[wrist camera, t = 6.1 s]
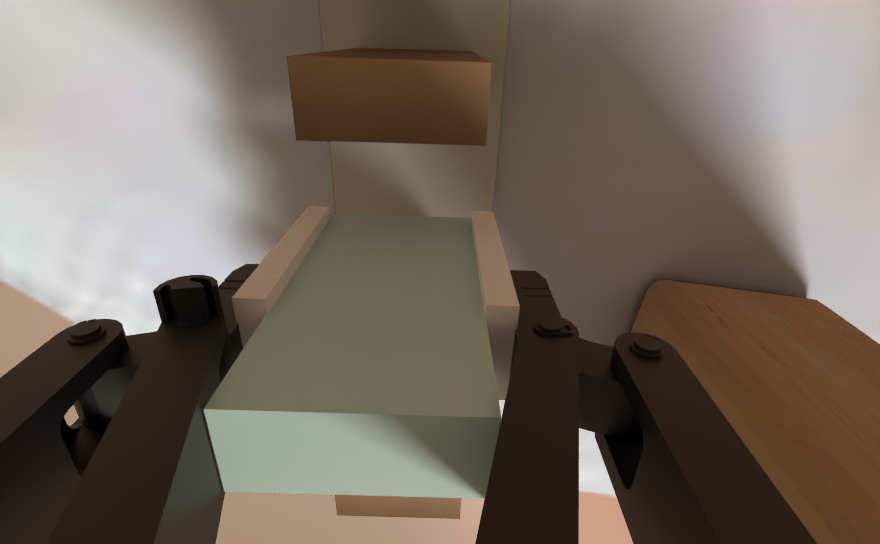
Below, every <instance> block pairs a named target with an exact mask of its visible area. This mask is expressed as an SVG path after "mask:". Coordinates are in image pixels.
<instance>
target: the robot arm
mask: <svg viewBox="0 0 880 544" xmlns="http://www.w3.org/2000/svg"><path fill="white" fill-rule="evenodd" d="M330 218H331V217H330V206H307V208H306V209H305V210H304V211H303V212H302V214H301V215H300V216H299V217H298V218H297V220H296V221H295V222H294V223H293V225H292V226H291V227H290V228H289V229H288V231H287V232H286V233H285V234H284V235H283V237H282V238H281V239H280V240H279V241H278V243H277V244H276V245H275V246H274V247H273V249H272V250H271V251H270V252H269V253H268V255H267V256H266V257H265V258H264V259H263V261H262V262H261V263H260V264H245V265H244V266H242V267H240V268H238V269H236V270H234V271H232V273H231V274H230V275H229V276H228V277H227V278H226V279H225V282H222V283H221V284H220V286H219V287H218V283H217V280H215V279H214V278H213V277H209V276H205V275H190V276H183V277H178V278H175V279H172V280H168V281H166V282H164V283H162V284H160V285H159V286H158V287H157V288H155V289H154V290H153V292H154V296H155V300H156V303H157V307H158V310H159V314H160V318H161V321H162V323H161V325H160V327H159V329H158V331H156V332H150V333H144V334H137V335H130V336H126V335H125V332H124V329H123V326H122V324H121V323H120V322H118V321H117V320H111V319H98V320H97V319H93V320H88V321H83V322H80V323H78V324H76V325H74V326H71V327H69V328H67V329H65V330H63V331H62V332H60V333H58V334H57V335H55V336H54V337H53V338H51V339H50V340H49V341H48V342H46V343H45V344H44V345H42V346H41V347H40V348H38V349H37V350H36V351H35V352H33V353H32V354H31V355H29V356H28V357H27V358H26V359H24V360H23V361H21V362H20V363H19V364H18V365H16V366H15V367H14V368H12V369H11V370H10V371H8V372H7V373H6V374H5V375H3V376H2V377H1V378H0V544H215V543H216V538H217V532H218V527H219V522H220V516H221V511H222V505H223V500H224V495H225V491H224V488H223V484H222V481H221V477H220V473H219V469H218V465H217V461H216V457H215V453H214V449H213V445H212V441H211V437H210V433H209V429H208V425H207V421H206V417H205V413H204V408H205V406H206V405H207V403H208V402H209V400H210V398H211V397H212V395H213V394H214V392H215V391H216V389H217V388H218V386H219V385H220V383H221V382H222V380H223V379H224V377H225V376H226V374H227V373H228V371H229V370H230V368H231V367H232V365H233V364H234V362H235V361H236V359H237V358H238V356H239V355H240V353H241V351H242V350H243V348H244V347H245V345H246V344H247V342H248V341H249V339H250V338H251V336H252V335H253V333H254V332H255V330H256V329H257V327H258V326H259V324H260V323H261V321H262V320H263V318H264V317H265V315H266V314H268V313H269V311H270V310H271V308H272V307H273V305H274V304H275V302H276V301H277V299H278V298H279V296H280V295H281V293H282V291H283V290H284V288H285V287H286V285H287V284H288V282H289V281H290V279H291V278H292V276H293V275H294V273H295V272H296V270H297V269H298V267H299V265H300V264H301V262H302V261H303V259H304V258H305V256H306V255H307V253H308V252H309V250H310V249H311V247H312V246H313V244H314V242H315V241H316V239H317V238H318V236H319V235H320V233H321V232H322V230H323V229H324V227H325V226H326V224H327V223H328V221H329V219H330ZM471 226H472V233H473V240H474V247H475V254H476V261H477V268H478V275H479V282H480V289H481V296H482V303H483V311H484V318H485V321H487V327H488V333H489V340H490V347H491V353H492V360H493V367H494V373H495V380H496V387H497V394H498V400H505V404H504V409H503V414H502V419H501V424H500V428H499V433H498V438H497V443H496V448H495V452H494V457H493V462H492V467H491V472H490V476H489V481H488V486H487V491H486V496H485V500H484V506H483V510H482V515H481V520H480V525H479V529H478V534H477V539H476V544H578V508H579V503H578V502H579V501H578V500H579V498H578V496H579V428H581V429H585V430H588V431H592V432H595V438H596V441H597V444H598V447H599V449H600V452H601V455H602V458H603V460H604V463H605V466H606V469H607V471H608V474H609V477H610V480H611V482H612V485H613V488H614V491H615V494H616V496H617V499H618V502H619V504H620V507H621V510H622V513H623V516H624V518H625V521H626V524H627V527H628V529H629V532H630V535H631V538H632V541H633V543H634V544H817V543H816V541H815V540H814V539H813V537H812V536H811V534H810V533H809V532H808V530H807V529H806V528H805V526H804V525H803V523H802V522H801V521H800V519H799V518H798V517H797V515H796V514H795V512H794V511H793V510H792V508H791V507H790V506H789V504H788V503H787V501H786V500H785V499H784V497H783V496H782V495H781V493H780V492H779V490H778V489H777V488H776V486H775V485H774V484H773V482H772V481H771V479H770V478H769V477H768V475H767V474H766V473H765V471H764V470H763V468H762V467H761V466H760V464H759V463H758V462H757V460H756V459H755V457H754V456H753V455H752V453H751V452H750V451H749V449H748V448H747V446H746V445H745V444H744V442H743V441H742V440H741V438H740V437H739V435H738V434H737V433H736V431H735V430H734V429H733V427H732V426H731V424H730V423H729V422H728V420H727V419H726V418H725V416H724V415H723V413H722V412H721V411H720V409H719V408H718V407H717V405H716V404H715V402H714V401H713V400H712V398H711V397H710V396H709V394H708V393H707V391H706V390H705V389H704V387H703V386H702V385H701V383H700V382H699V380H698V379H697V378H696V376H695V375H694V374H693V372H692V371H691V369H690V368H689V367H688V365H687V364H686V363H685V361H684V360H683V358H682V357H681V356H680V354H679V353H678V352H677V350H676V349H675V348H674V347H673V346H672V345H671V344H669V343H668V342H666V341H664V340H662V339H660V338H659V337H656V336H654V335H653V336H652V335H650V334H646V333H637V332H634V333H625V334H623V335H620V336H618V337H617V339H616V341H615V343H614V347H610V346H605V345H601V344H596V343H593V342H589V341H586V340H584V339H581V338H579V333H578V330H577V328H576V327H575V326H574V325H573V324H572V323H571V322H569V321H567V320H565V319H563V318H562V317H561V315H560V313H559V310H558V308H557V306H556V303H555V301H554V298H553V297H552V294H551V291H550V290H549V286H548V284H547V282H546V279H545V278H543V277H542V276H541V275H540V274H538V273H537V272H536V271H516V270H509V266H508V262H507V259H506V255H505V252H504V248H503V244H502V241H501V237H500V234H499V230H498V227H497V223H496V219H495V216H494V212H493V211H472V213H471ZM73 404H74V406H75V409H76V411H77V414H78V416H79V418H78V420H77V421H76V422H75V423H74V424H73V425H71V426H70V427H69V426H68V425H67V423H66V421H65V419H64V415H65V414H66V412H67V411H68V410H69V408H70V407H71V406H72V405H73Z"/></svg>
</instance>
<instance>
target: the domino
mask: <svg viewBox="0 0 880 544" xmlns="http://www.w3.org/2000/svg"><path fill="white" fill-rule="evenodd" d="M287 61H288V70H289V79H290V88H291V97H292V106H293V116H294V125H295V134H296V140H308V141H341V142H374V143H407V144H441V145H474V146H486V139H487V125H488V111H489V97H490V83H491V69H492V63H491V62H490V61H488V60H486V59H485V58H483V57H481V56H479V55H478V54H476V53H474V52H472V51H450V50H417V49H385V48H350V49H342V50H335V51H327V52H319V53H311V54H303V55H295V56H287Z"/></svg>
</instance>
